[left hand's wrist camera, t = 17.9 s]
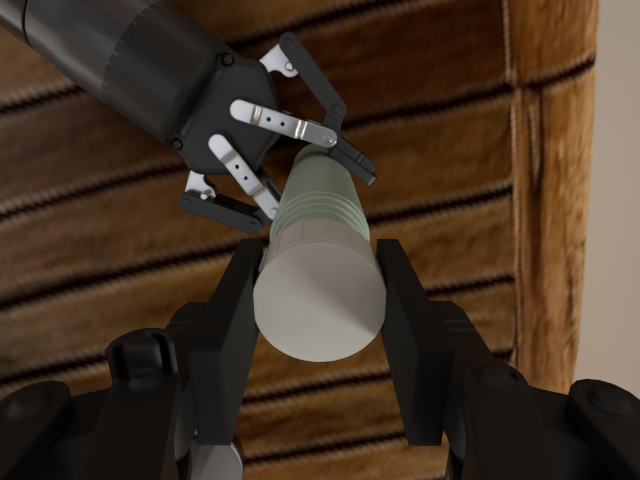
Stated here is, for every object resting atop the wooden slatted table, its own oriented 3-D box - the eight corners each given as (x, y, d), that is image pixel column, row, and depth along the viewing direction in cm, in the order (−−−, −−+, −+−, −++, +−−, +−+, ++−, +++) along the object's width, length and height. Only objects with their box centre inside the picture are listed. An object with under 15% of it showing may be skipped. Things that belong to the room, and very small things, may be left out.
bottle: (282, 165, 34) (222, 285, 13) (324, 131, 33) (332, 202, 12) (315, 205, 35) (309, 373, 14) (356, 173, 34) (414, 305, 13)
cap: (345, 196, 14) (350, 217, 11) (396, 294, 15) (410, 330, 13) (238, 250, 14) (224, 280, 12) (297, 339, 16) (293, 380, 14)
